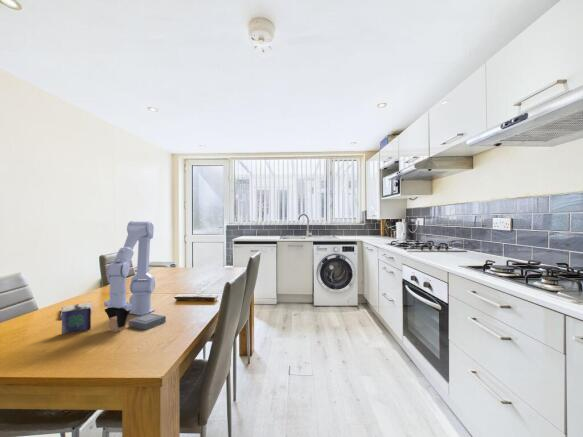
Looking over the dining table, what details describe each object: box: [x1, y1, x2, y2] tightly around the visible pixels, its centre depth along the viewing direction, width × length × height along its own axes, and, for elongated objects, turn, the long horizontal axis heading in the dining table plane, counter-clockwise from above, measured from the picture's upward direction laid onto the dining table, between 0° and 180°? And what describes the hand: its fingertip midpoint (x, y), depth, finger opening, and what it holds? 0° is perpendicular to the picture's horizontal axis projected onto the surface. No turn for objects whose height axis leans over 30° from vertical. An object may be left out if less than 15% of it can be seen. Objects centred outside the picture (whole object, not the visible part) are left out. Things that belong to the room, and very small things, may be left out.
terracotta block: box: [109, 316, 127, 333], centre depth 113 cm, size 4×4×5 cm
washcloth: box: [59, 302, 93, 321], centre depth 134 cm, size 12×18×3 cm, turn 39°
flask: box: [61, 303, 92, 335], centre depth 111 cm, size 9×3×11 cm, turn 121°
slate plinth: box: [128, 312, 167, 331], centre depth 118 cm, size 10×10×3 cm
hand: (117, 325), depth 113 cm, fingers closed on terracotta block, 4 cm apart
